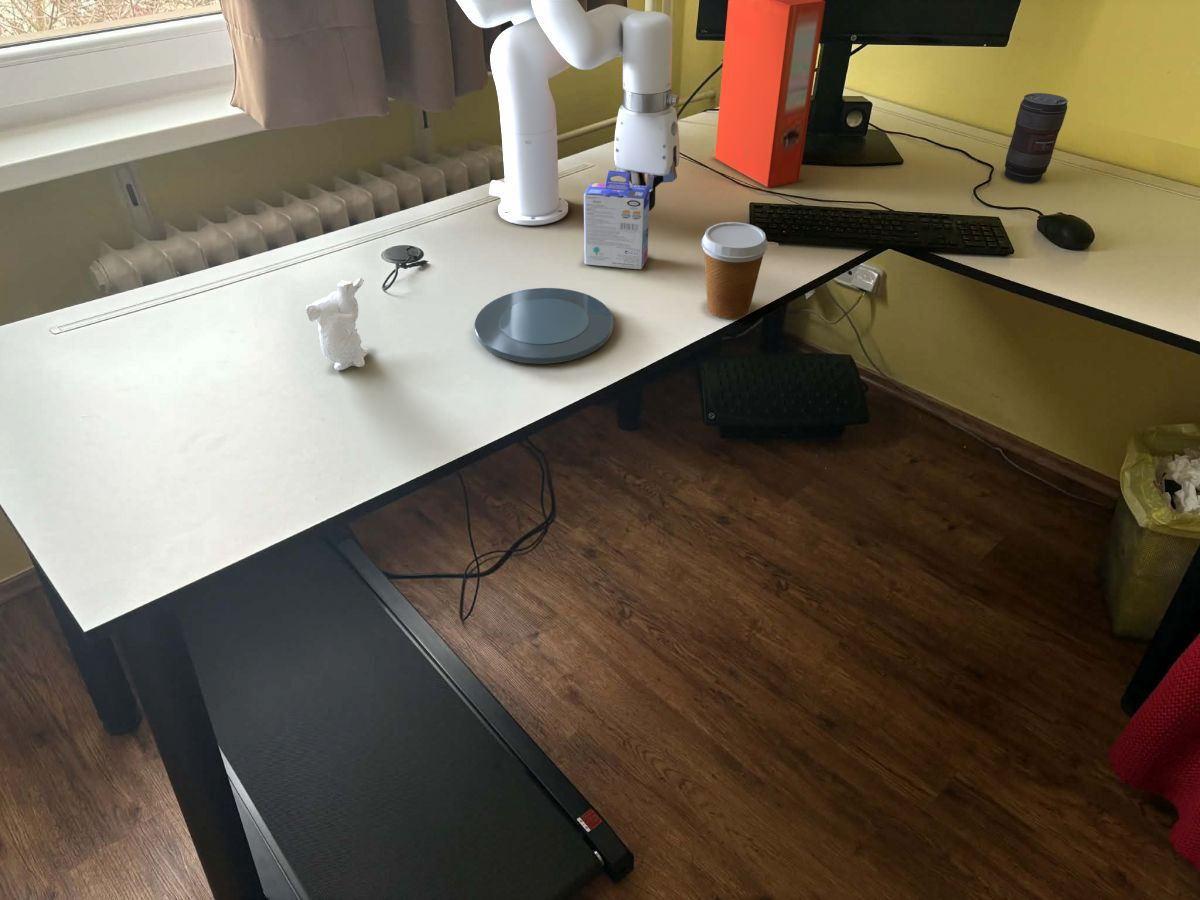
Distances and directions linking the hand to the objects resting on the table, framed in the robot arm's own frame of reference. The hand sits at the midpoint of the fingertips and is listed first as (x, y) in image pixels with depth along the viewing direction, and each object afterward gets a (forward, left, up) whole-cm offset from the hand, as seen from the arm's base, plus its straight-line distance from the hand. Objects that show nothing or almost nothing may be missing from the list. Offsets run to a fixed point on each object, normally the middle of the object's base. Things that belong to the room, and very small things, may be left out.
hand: (645, 210), depth 152 cm
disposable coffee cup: (+22, -17, -5) cm, 28 cm away
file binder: (+8, +38, -5) cm, 39 cm away
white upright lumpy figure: (-20, -54, -5) cm, 58 cm away
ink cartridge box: (0, -10, -5) cm, 12 cm away
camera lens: (+56, +57, -5) cm, 80 cm away
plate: (0, -35, -5) cm, 35 cm away
